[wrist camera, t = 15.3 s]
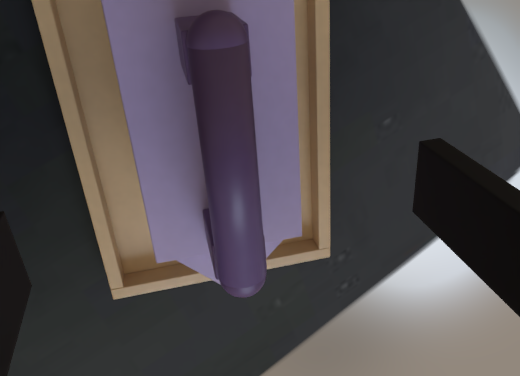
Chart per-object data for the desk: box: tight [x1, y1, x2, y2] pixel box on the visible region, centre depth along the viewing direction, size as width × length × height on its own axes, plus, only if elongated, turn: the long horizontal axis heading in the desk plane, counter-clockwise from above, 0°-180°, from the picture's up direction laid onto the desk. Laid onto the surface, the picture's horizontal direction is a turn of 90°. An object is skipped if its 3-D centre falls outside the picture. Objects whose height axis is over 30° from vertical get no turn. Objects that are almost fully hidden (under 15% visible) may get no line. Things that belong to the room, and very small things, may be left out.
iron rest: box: [31, 0, 330, 299], centre depth 24 cm, size 18×12×2 cm
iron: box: [101, 0, 302, 297], centre depth 20 cm, size 14×6×10 cm, turn 5°
